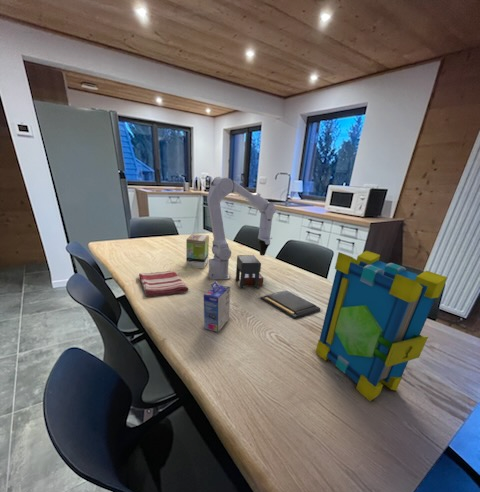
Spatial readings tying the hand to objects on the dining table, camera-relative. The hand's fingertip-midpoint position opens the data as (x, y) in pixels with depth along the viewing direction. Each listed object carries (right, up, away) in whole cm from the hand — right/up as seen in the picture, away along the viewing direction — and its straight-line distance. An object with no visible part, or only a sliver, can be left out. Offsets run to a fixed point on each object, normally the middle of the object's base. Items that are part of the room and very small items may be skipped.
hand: (262, 255), depth 135 cm
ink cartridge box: (-19, -32, -46) cm, 59 cm away
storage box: (-6, -15, -11) cm, 20 cm away
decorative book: (+19, -43, -63) cm, 79 cm away
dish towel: (-46, -17, -19) cm, 52 cm away
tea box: (-35, -3, +10) cm, 36 cm away
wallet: (+9, -25, -29) cm, 39 cm away
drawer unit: (-8, -16, -12) cm, 21 cm away
